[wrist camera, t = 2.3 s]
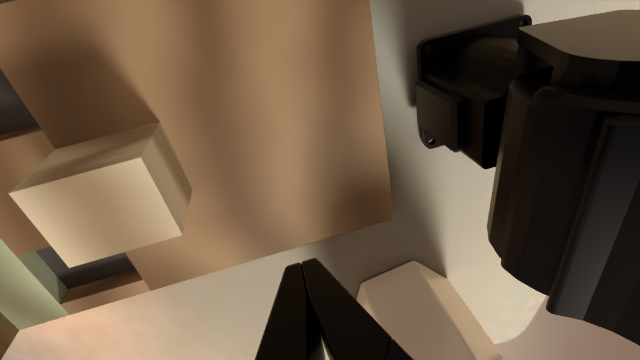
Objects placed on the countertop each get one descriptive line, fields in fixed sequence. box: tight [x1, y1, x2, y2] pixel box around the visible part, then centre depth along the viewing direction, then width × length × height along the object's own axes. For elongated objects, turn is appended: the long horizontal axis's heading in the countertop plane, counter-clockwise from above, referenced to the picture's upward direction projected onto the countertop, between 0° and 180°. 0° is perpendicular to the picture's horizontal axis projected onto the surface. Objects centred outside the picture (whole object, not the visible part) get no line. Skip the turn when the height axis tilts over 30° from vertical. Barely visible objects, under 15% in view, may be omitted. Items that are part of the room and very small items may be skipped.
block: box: [8, 122, 192, 268], centre depth 16 cm, size 5×4×4 cm
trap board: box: [0, 0, 394, 360], centre depth 17 cm, size 25×16×4 cm, turn 101°
